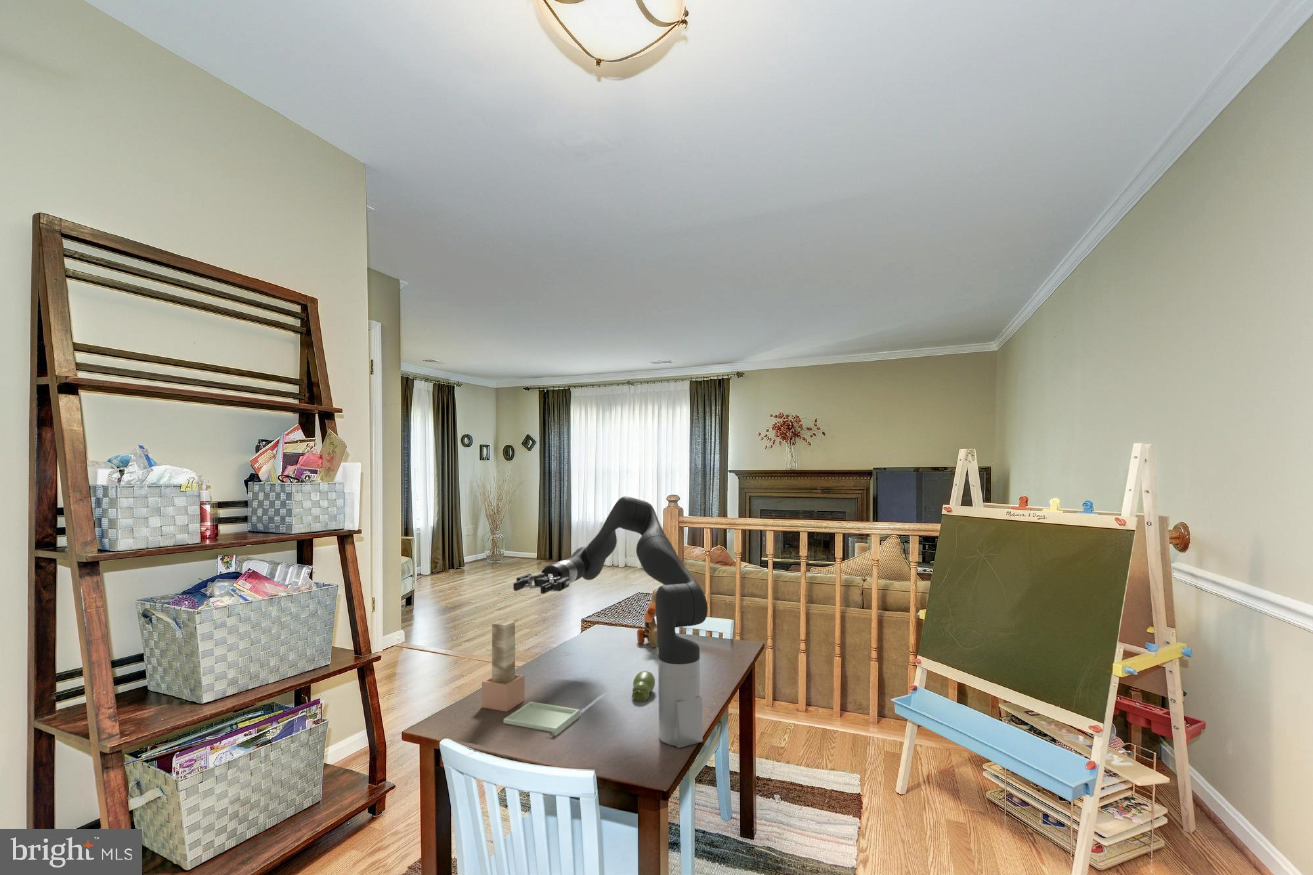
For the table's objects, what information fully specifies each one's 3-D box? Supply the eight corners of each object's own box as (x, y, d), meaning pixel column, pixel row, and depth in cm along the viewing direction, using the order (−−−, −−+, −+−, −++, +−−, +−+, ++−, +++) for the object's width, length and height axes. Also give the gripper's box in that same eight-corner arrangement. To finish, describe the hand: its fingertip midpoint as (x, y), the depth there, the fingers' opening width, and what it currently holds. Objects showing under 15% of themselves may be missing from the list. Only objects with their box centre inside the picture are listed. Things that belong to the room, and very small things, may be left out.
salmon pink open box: (524, 703, 151) (524, 675, 151) (506, 714, 144) (506, 685, 144) (500, 699, 154) (500, 671, 154) (481, 710, 147) (481, 681, 147)
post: (514, 701, 150) (514, 621, 151) (505, 707, 146) (505, 625, 147) (501, 699, 151) (501, 619, 152) (491, 705, 148) (492, 623, 149)
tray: (580, 716, 143) (580, 709, 143) (555, 735, 132) (555, 728, 132) (530, 708, 148) (530, 701, 148) (503, 726, 138) (503, 719, 138)
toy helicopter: (659, 638, 206) (659, 598, 206) (674, 657, 186) (673, 613, 186) (636, 640, 204) (635, 600, 205) (648, 659, 184) (648, 614, 184)
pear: (656, 668, 160) (648, 688, 150) (657, 686, 160) (649, 707, 150) (636, 666, 161) (627, 686, 151) (637, 685, 161) (628, 706, 152)
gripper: (538, 560, 178) (505, 572, 162) (580, 563, 172) (550, 576, 157) (538, 585, 178) (506, 600, 162) (581, 589, 172) (551, 605, 157)
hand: (528, 588), depth 160 cm, fingers open, 8 cm apart
